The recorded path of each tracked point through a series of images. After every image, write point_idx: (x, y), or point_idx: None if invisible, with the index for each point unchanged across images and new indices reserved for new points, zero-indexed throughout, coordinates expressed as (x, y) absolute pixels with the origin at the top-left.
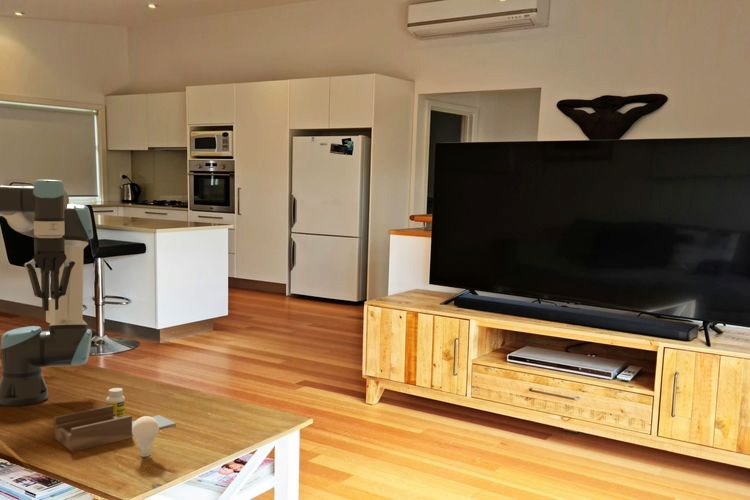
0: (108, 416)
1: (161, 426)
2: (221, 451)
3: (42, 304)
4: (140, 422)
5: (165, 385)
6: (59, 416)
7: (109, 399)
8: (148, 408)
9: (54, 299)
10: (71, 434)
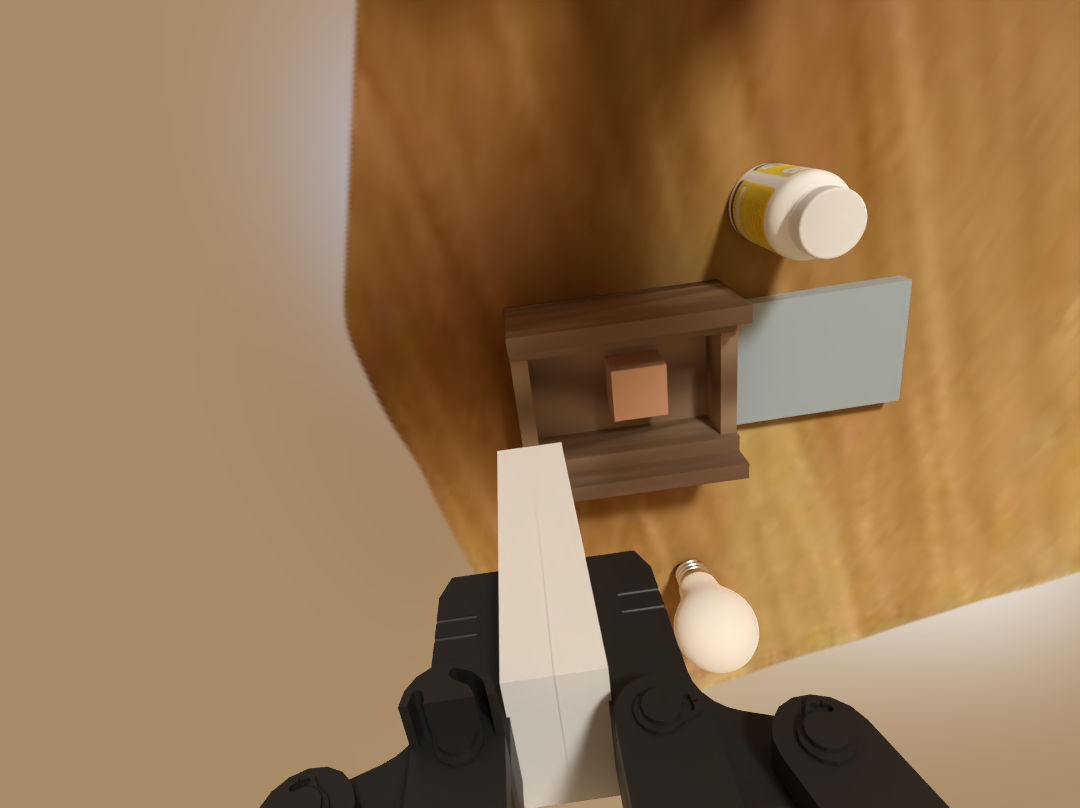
0: (711, 333)
1: (843, 407)
2: (863, 613)
3: (436, 655)
4: (701, 666)
5: None
6: (525, 346)
7: (777, 236)
8: (957, 96)
9: (611, 793)
10: None
